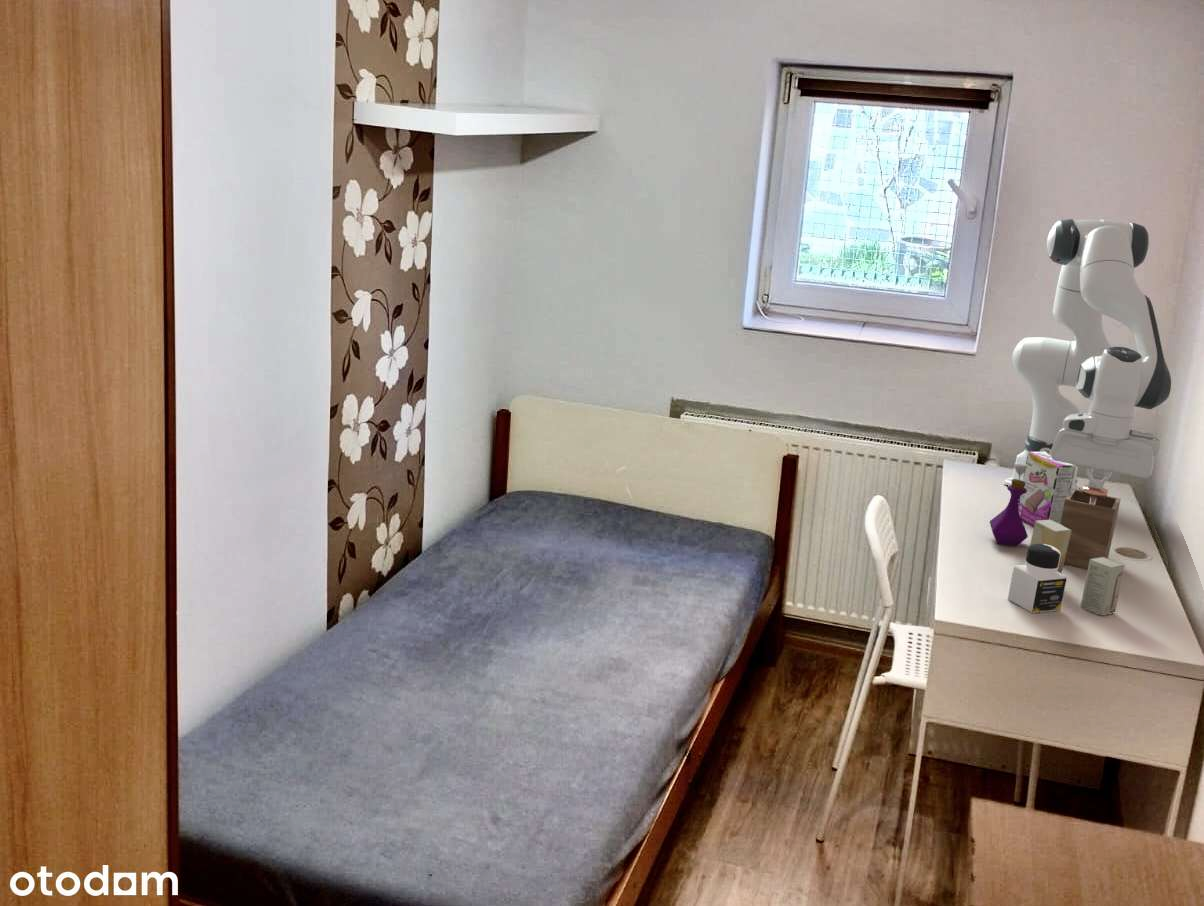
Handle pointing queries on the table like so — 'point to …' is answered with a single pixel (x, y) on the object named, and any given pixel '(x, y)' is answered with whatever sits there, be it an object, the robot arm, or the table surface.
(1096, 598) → the skincare box
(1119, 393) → the robot arm
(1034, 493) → the candy bar box
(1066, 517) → the wooden box
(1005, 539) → the perfume bottle
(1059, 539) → the skincare box
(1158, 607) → the table surface
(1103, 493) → the table lamp
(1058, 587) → the medicine bottle
